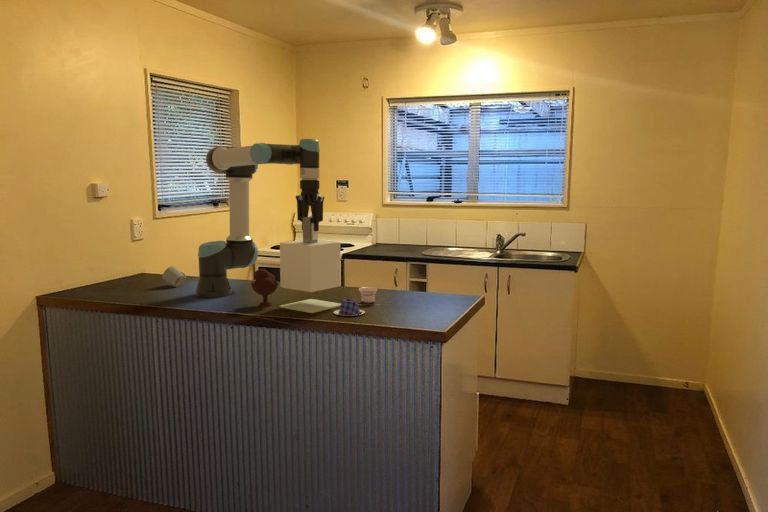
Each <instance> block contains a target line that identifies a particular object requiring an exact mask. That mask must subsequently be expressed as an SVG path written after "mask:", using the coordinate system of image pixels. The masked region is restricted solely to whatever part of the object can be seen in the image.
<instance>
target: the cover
mask: <svg viewBox="0 0 768 512" xmlns="http://www.w3.org/2000/svg"><path fill="white" fill-rule="evenodd" d="M312 222H313V219H312V216H308V217H303V230H302V239H301V240H293V241H283V242H279V272H280V273H279V274H280V276H279V277H280V278H279V280H280V282H279V283H280V284H279V285H280V286H279V287H280V288H282V289H283V288H284V289H289V290H294V291H295V290H296V291H301V292H306V293H307V292H308V293H314V292H320V291H323V290H329V289H333V288H338V287H341V241H331V240H319V239H317V240H312V237H311V223H312Z"/></svg>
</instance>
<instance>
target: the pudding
mask: <svg viewBox="0 0 768 512" xmlns="http://www.w3.org/2000/svg"><path fill="white" fill-rule="evenodd" d="M340 304H341V306H339V309H336V310H334V311H333V314H335V315H338V316H343V317H344V316H345V317H353V316H354V317H355V316H360V315H363V314H365V313H366V311H365V310H363V309H361V308H360V305H358V304H359V302H358V301H357V299H354V298H353V299H352V298H347V299H346V298H345V299H342V301H341V303H340ZM360 312H362V313H361V314H359V313H360ZM358 314H359V315H358Z"/></svg>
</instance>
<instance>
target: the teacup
mask: <svg viewBox="0 0 768 512" xmlns="http://www.w3.org/2000/svg"><path fill="white" fill-rule="evenodd" d="M358 292H359V293H360V295H361V301H362V302H363V304H372V303H374V302H375V299H376V298H375V296H376V294H377V292H378V288H377V287H372V286H364V287H359V288H358ZM378 305H380V303H378V304H376V306H378ZM358 306H361V304H359V303H358Z"/></svg>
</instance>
